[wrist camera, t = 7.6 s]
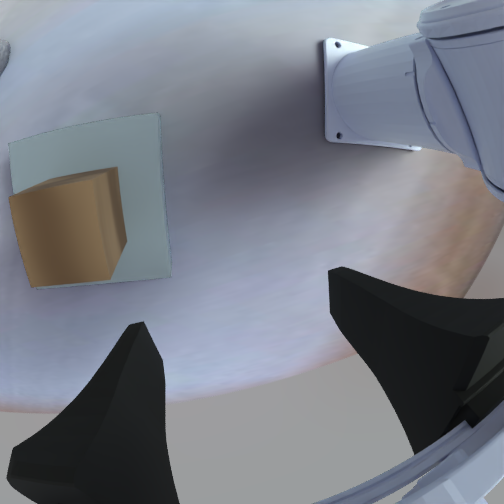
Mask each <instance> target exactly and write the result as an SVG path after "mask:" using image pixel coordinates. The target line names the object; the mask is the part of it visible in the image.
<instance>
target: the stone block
mask: <svg viewBox="0 0 504 504" xmlns="http://www.w3.org/2000/svg"><path fill="white" fill-rule="evenodd" d="M9 54H10V44H9V42H6V41H4V40H0V75H1V74H2V72H3V70H4V68H5V67H6V64H7V62H8V60H9Z"/></svg>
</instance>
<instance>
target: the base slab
mask: <svg viewBox="0 0 504 504" xmlns="http://www.w3.org/2000/svg"><path fill="white" fill-rule="evenodd" d="M8 146H9V160H10V170H11V179H12V186H13V193H14V194H16V193H19V192H21V191H23V190H25V189H27V188H30V187H32V186H34V185H36V184H39V183H41V182H44V181H46V180H48V179H51V178H56V177H61V176H66V175H71V174H76V173H81V172H87V171H93V170H98V169H104V168H111V167H117V166H118V176H119V186H120V194H121V202H122V210H123V217H124V223H125V230H126V236H127V243H126V245H125V247H124V250H123V252H122V254H121V256H120V259H119V261H118V263H117V266H116V268H115V270H114V273H113V275H112V277H111V280H105V281H95V282H85V283H74V284H64V285H53V286H42V287H36V289H49V288H61V287H73V286H85V285H96V284H107V283H118V282H129V281H140V280H150V279H160V278H170V277H171V271H172V259H171V251H170V242H169V233H168V224H167V214H166V203H165V191H164V178H163V163H162V144H161V116H160V115H159V114H158V113H150V114H141V115H133V116H126V117H119V118H113V119H107V120H101V121H96V122H90V123H85V124H80V125H76V126H71V127H66V128H62V129H58V130H54V131H50V132H46V133H42V134H38V135H35V136H31V137H28V138H24V139H21V140H18V141H15V142H12V143H8Z"/></svg>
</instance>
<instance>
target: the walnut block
mask: <svg viewBox="0 0 504 504" xmlns="http://www.w3.org/2000/svg"><path fill="white" fill-rule="evenodd" d="M9 203H10V209H11V214H12V219H13V224H14V228H15V232H16V237H17V241H18V245H19V249H20V252H21V256H22V259H23V263H24V266H25V270H26V273H27V276H28V279H29V282H30V285H31V287H42V286H53V285H64V284H74V283H85V282H95V281H105V280H111V277H112V275H113V273H114V270H115V268H116V266H117V263H118V261H119V259H120V256H121V254H122V252H123V250H124V247H125V245H126V243H127V236H126V230H125V223H124V217H123V210H122V202H121V194H120V186H119V176H118V166H117V167H111V168H104V169H98V170H93V171H87V172H81V173H76V174H71V175H66V176H61V177H56V178H51V179H48V180H46V181H44V182H41V183H39V184H36V185H34V186H32V187H30V188H27V189H25V190H23V191H21V192H19V193H16V194H14V195H12V196H10V197H9Z"/></svg>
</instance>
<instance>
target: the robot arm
mask: <svg viewBox="0 0 504 504" xmlns="http://www.w3.org/2000/svg"><path fill="white" fill-rule="evenodd" d="M417 28H418V29H419V31H420V33H416V34H412V35H408V36H404V37H401V38H397V39H393V40H390V41H387V42H383V43H380V44H377V45H374V46H371V47H368V46H364V45H361V44H357V43H353V42H348V41H344V40H340V39H335V38H327V39H325V40H324V42H323V47H324V74H325V138H326V139H327V140H328V141H329V142H337V143H352V144H364V145H374V146H384V147H392V148H400V149H408V150H415V151H420V150H421V148H422V147H423V148H428V149H434V150H439V151H444V152H449V153H453V154H457V155H458V156H459V157H460V158H461V159H462V161H463V163H464V166H465V167H468V168H472V169H476V170H479V171H481V173H482V177H483V180H484V183H485V185H486V186H487V188H488V190H489V191H490V192H491V193H492V194H493V195H494V196H495V197H496V198H498V199H499V200H501V201H502V202H504V0H443V1H441V2H438V3H436V4H433V5H431V6H429V7H427V8H425V9H424V10H422V11H421V14H420V19H419V22H418V23H417ZM335 43H337V44H338V46H339V47H338V48H337V47H336V46H335ZM337 133H339V134H340V138H339V139H338V138H337V136H336V135H337ZM328 280H329V301H330V314H331V315H332V317H333V319H334V321H335V322H336V324H337V326H338V328H339V329H340V331H341V332H342V334H343V335H344V336H345V338H346V339H347V340H348V341H349V343H350V344H351V345H352V346H353V348H354V349H355V350H356V351H357V353H358V354H359V355H360V357H361V358H362V359H363V360H364V361H365V363H366V364H367V365H368V367H369V368H370V369H371V371H372V372H373V373H374V375H375V376H376V378H377V380H378V381H379V383H380V384H381V386H382V388H383V390H384V391H385V393H386V395H387V397H388V399H389V400H390V402H391V404H392V406H393V408H394V409H395V412H396V414H397V416H398V418H399V420H400V422H401V424H402V426H403V428H404V430H405V432H406V435H407V437H408V440H409V442H410V445H411V447H412V449H413V452H414V456H413V457H411V458H409V459H408V460H406V461H404V462H402V463H401V464H399V465H397V466H395V467H394V468H392V469H390V470H388V471H386V472H384V473H382V474H380V475H379V476H377V477H375V478H373V479H370V480H368V481H366V482H365V483H362V484H360V485H358V486H356V487H353V488H351V489H349V490H347V491H344V492H342V493H339V494H337V495H334V496H332V497H329V498H327V499H324V500H321V501H318V502H316V503H313V504H372V503H374V502H376V501H378V500H380V499H382V498H384V497H386V496H388V495H390V494H392V493H394V492H395V491H397V490H399V489H401V488H403V487H404V486H406V485H407V484H409V483H411V482H413V481H414V480H416V479H417V478H419V477H421V476H422V475H424V474H425V473H427V472H428V471H430V470H431V469H432V470H431V471H430V472H428V473H427V474H426V475H424V476H423V477H422V478H421V479H419V480H418V482H417V484H416V485H415V486H414V487H413V489H412V490H410V491H409V492H408V493H407V494H406V495H404V496H403V497H402V500H401V501H399V502H397V503H395V504H488V503H487V502H486V500H485V499H484V497H485V495H487V494H488V493H489V492H490V491H491V490H492V489H493V488H494V487H495V486H496V485H497V484H498V483H499V481H500V480H501V479H502V478H503V477H504V298H498V299H463V298H453V297H445V296H438V295H432V294H428V293H423V292H418V291H414V290H411V289H407V288H404V287H401V286H397V285H394V284H391V283H388V282H385V281H382V280H380V279H377V278H374V277H371V276H369V275H366V274H363V273H360V272H358V271H355V270H352V269H349V268H346V267H342V266H341V267H338V268H335V269H332V270H329V271H328ZM434 467H435V468H434ZM433 468H434V469H433ZM7 480H8V482H9V483H10V485H11V486H12V487H13V488H14V489H15V490H17V491H18V492H20V493H21V494H23V495H24V496H26V497H27V498H29V499H31V500H32V501H34V502H36V503H37V504H180V503H179V500H178V497H177V492H176V489H175V484H174V481H173V476H172V471H171V466H170V461H169V455H168V449H167V443H166V432H165V375H164V366H163V360H162V358H161V356H160V354H159V352H158V350H157V348H156V346H155V344H154V342H153V340H152V338H151V336H150V334H149V332H148V329H147V327H146V325H145V323H144V321H143V322H139V323H135V324H130V325H129V326H128V327H127V328H126V330H125V331H124V333H123V334H122V335H121V337H120V338H119V340H118V341H117V343H116V345H115V346H114V348H113V349H112V351H111V352H110V353H109V355H108V356H107V358H106V359H105V361H104V362H103V364H102V365H101V366H100V368H99V369H98V371H97V372H96V373H95V375H94V376H93V377H92V379H91V380H90V381H89V383H88V384H87V385H86V386H85V388H84V389H83V390H82V391H81V392H80V393H79V394H78V396H77V397H76V398H75V399H74V400H73V401H72V402H71V403H70V404H69V405H68V406H67V407H66V408H65V409H64V410H63V411H62V412H61V413H60V414H59V415H58V416H57V417H56V418H54V419H53V420H52V421H51V422H50V423H49V424H47V425H46V426H45V427H43V428H42V429H41V430H40V431H38V432H37V433H35V434H34V435H33V436H31V437H30V438H28V439H27V440H25V441H24V442H22V443H20V444H19V445H17V446H15V447H14V448H13V450H12V454H11V458H10V463H9V468H8V472H7Z"/></svg>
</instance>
